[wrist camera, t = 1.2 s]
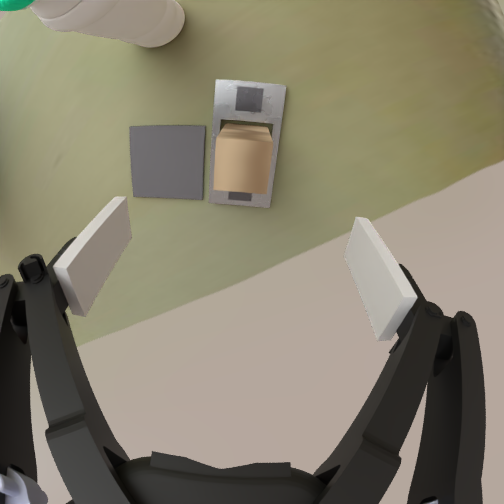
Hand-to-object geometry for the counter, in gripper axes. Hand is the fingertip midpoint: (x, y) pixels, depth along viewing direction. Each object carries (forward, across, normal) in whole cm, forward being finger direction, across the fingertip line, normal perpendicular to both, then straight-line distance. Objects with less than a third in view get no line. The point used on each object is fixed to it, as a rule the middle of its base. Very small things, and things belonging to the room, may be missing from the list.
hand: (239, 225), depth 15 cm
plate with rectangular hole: (+21, 0, 0) cm, 21 cm away
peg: (+21, 0, 0) cm, 21 cm away
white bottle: (+21, -12, +16) cm, 29 cm away
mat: (+21, -10, -3) cm, 23 cm away
